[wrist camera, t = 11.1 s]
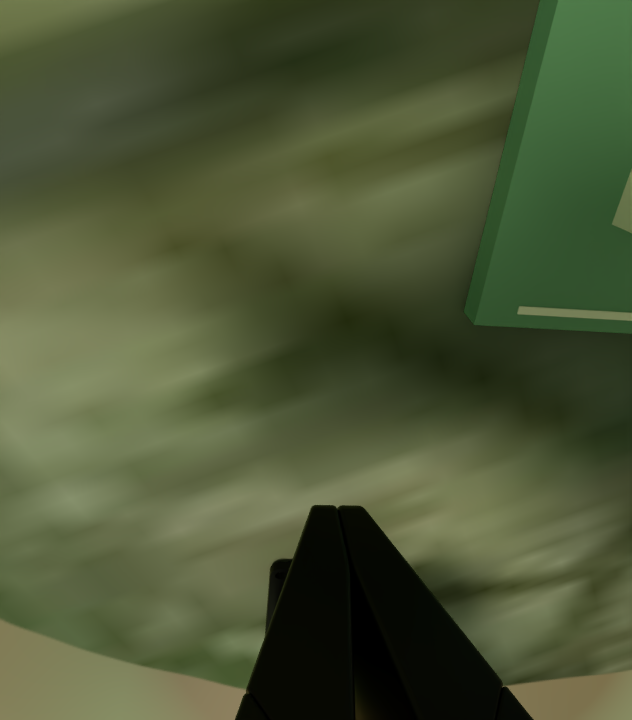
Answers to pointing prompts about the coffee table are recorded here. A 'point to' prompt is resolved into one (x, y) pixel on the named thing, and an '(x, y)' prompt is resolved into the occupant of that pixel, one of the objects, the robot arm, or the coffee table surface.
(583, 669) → the coffee table surface
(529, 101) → the board
